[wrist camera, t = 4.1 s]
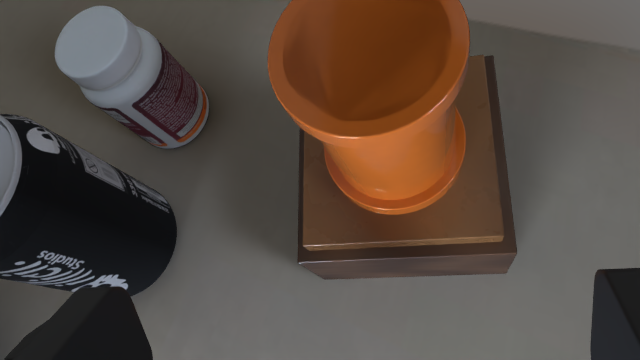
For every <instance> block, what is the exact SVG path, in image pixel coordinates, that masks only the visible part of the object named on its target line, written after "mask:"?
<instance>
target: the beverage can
mask: <svg viewBox="0 0 640 360" xmlns="http://www.w3.org/2000/svg"><path fill="white" fill-rule="evenodd" d="M176 237H177V227H176V220H175V216H174V213H173V211H172V209H171V206H170V205H169V203H168V202H167V200H166V199H165V198H164V197H163V196H162V195H161V194H160V193H158V192H157V191H155V190H154V189H152V188H150V187H148V186H147V185H145V184H143V183H141V182H140V181H138V180H136V179H134V178H133V177H131V176H129V175H127V174H126V173H124V172H122V171H120V170H119V169H117V168H115V167H113V166H112V165H110V164H108V163H106V162H105V161H103V160H101V159H99V158H98V157H96V156H94V155H92V154H91V153H89V152H87V151H85V150H84V149H82V148H80V147H78V146H77V145H75V144H73V143H71V142H70V141H68V140H66V139H64V138H63V137H61V136H59V135H57V134H56V133H54V132H52V131H50V130H49V129H47V128H45V127H43V126H41V125H40V124H38V123H36V122H34V121H33V120H31V119H28V118H26V117H23V116H18V115H12V114H0V278H1V279H6V280H11V281H17V282H22V283H28V284H33V285H39V286H44V287H49V288H55V289H60V290H66V291H71V292H75V291H77V290H78V289H80V288H87V287H113V286H120V287H123V288H124V289H126V290H127V292H128V293H129V295H130V296H133V295H135V294H137V293H139V292H141V291H143V290H145V289H146V288H148V287H149V286H150V285H151V284H153V283H154V282H155V281H156V280H157V279H158V278H159V277H160V275H161V274H162V273H163V271H164V270H165V269H166V267H167V265H168V263H169V261H170V259H171V257H172V255H173V252H174V248H175V244H176Z"/></svg>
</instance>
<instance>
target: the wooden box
mask: <svg viewBox="0 0 640 360" xmlns="http://www.w3.org/2000/svg"><path fill="white" fill-rule="evenodd" d="M455 107H456V108H457V110H458V111H459V114H460V116H461V118H462V120H463V123H464V126H465V132H466V154H465V160H464V164H463V168H462V170H461V172H460V174H459V177H458V178H457V180H456V181H455V183H454V184H453V186H452V187H451V188H450V189H449V191H448V192H447V193H446V194H444V195H443V196H442V197H441V198H440V199H439V200H437V201H436V202H434V203H433V204H431V205H429V206H427V207H425V208H423V209H420V210H418V211H415V212H411V213H406V214H398V215H388V214H380V213H376V212H372V211H369V210H367V209H364V208H362V207H360V206H358V205H357V204H355V203H353V202H352V201H351V200H350V199H348V198H347V197H346V196H345V195H344V194H343V193H342V192H341V190H340V189H339V188H338V186H337V185H336V183H335V182H334V181H333V179H332V177H331V175H330V173H329V171H328V168H327V165H326V161H325V157H324V146H323V144H322V143H321V141H320V140H319V139H317V138H315V137H313V136H312V135H310V134H308V133H307V132H306V131H304V130H303V129H302V128H300V147H299V210H298V263H299V264H301V265H302V266H304V267H305V268H307V269H309V270H310V271H312V272H313V273H315V274H317V275H318V276H320V277H322V278H323V279H325V280H326V279H355V278H384V277H413V276H442V275H472V274H501V273H507V271H508V269H509V267H510V265H511V263H512V262H513V260H514V258H515V256H516V254H517V247H516V239H515V230H514V222H513V214H512V206H511V197H510V189H509V181H508V172H507V164H506V156H505V147H504V139H503V131H502V122H501V114H500V106H499V97H498V89H497V81H496V73H495V64H494V57H493V56H485V57H484V55H477V56H469V64H468V70H467V73H466V77H465V80H464V82H463V85H462V87H461V89H460V91H459V93H458V94H457V96H456V98H455Z"/></svg>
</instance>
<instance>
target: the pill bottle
mask: <svg viewBox="0 0 640 360" xmlns="http://www.w3.org/2000/svg"><path fill="white" fill-rule="evenodd" d="M55 60H56V63H57V65H58V67H59V69H60V70H61V71H62V72H63V73H64V74H65V75H66V76H68V77H69V78H70V79H72V80H73V81H74V82H76V83H77V84H78V85H80V88H81V90H82V92H83V94H84V96H85V97H86V98H87V99H88V100H89V101H90V102H91V103H92V104H93V105H95V106H96V107H98V108H100V109H101V110H103V111H104V112H105V113H107V114H108V115H110V116H111V117H113V118H114V119H116V120H117V121H118V122H120V123H121V124H123V125H124V126H126V127H127V128H129V129H130V130H131V131H133V132H134V133H136V134H137V135H139V136H140V137H142V138H143V139H144V140H146V141H148V142H149V143H150V144H152V145H154V146H156V147H159V148H165V149H169V148H176V147H180V146H182V145H185V144H187V143H189V142H190V141H191V140H193V139H194V138H195V137H196V136H197V135H198V134H199V133H200V131H201V130H202V128H203V127H204V125H205V123H206V120H207V117H208V112H209V101H208V97H207V95H206V93H205V91H204V89H203V88H202V87H201V86H200V85H199V84H198V83H197V82H196V80H195V79H194V78H193V77H192V76H191V75H190V74H189V73H188V72H187V71H186V70H185V69H184V68H183V67H182V66H181V65H180V64H179V63H178V62H177V61H176V59H175V58H174V57H173V56H172V55H171V54H170V53H169V52H168V51H167V50H166V49H165V48H164V47H163V46H162V44H161V43H160V42H159V41H158V40H157V39H156V38H155V37H154V36H153V35H152V34H151V33H149V32H148V31H146V30H145V29H143V28H140V27H137V26H135V25H134V24H133V23H132V22H130V21H129V20H128V19H127V18H126V17H125V16H124V15H123V14H122V13H121V12H119V11H118V10H117V9H115V8H112V7H109V6H95V7H91V8H88V9H86V10H84V11H82V12H80V13H79V14H77V15H76V16H74V17H73V18H72V19H71V20H70V21H69V22H68V23H67V24H66V25H65V27H64V28H63V30H62V31H61V33H60V35H59V37H58V39H57V42H56V46H55Z"/></svg>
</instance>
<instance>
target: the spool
mask: <svg viewBox="0 0 640 360" xmlns="http://www.w3.org/2000/svg"><path fill="white" fill-rule="evenodd" d="M469 56H470V30H469V25H468V19H467V16H466V14H465V11H464V8H463V6H462V5H461V3H460V1H459V0H292V1H291V2H290V3H289V4H288V6H287V7H286V9H285V10H284V11H283V13H282V14H281V16H280V18H279V20H278V22H277V23H276V25H275V28H274V31H273V33H272V36H271V40H270V44H269V50H268V72H269V78H270V82H271V85H272V87H273V90H274V92H275V94H276V96H277V98H278V100H279V102H280V103H281V104H282V106H283V107H284V109H285V110H286V112H287V113H288V114H289V116H290V117H291V118H292V120H293V121H294V122H295V123H296V124H297V125H298V126H299V127H300V128H302V129H303V130H304V131H306V132H307V133H308V134H310V135H312V136H313V137H315V138H317V139H319V140H320V141H321V143H322V144H323V146H324V157H325V161H326V165H327V168H328V171H329V173H330V175H331V177H332V179H333V181H334V182H335V183H336V185H337V186H338V188H339V189H340V190H341V192H342V193H343V194H344V195H345V196H346V197H347V198H348V199H350V200H351V201H352V202H353V203H355V204H357V205H358V206H360V207H362V208H364V209H367V210H369V211H372V212H376V213H380V214H388V215H398V214H406V213H411V212H415V211H418V210H420V209H423V208H425V207H427V206H429V205H431V204H433V203H434V202H436V201H437V200H439V199H440V198H441V197H442V196H443V195H444V194H446V193H447V192H448V191H449V189H450V188H451V187H452V186H453V184H454V183H455V181H456V180H457V178H458V177H459V174H460V172H461V170H462V168H463V164H464V160H465V154H466V132H465V126H464V123H463V120H462V118H461V116H460V114H459V111H458V110H457V108H456V107H455V98H456V96H457V94H458V93H459V91H460V89H461V87H462V85H463V82H464V80H465V77H466V73H467V70H468V64H469Z"/></svg>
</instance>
